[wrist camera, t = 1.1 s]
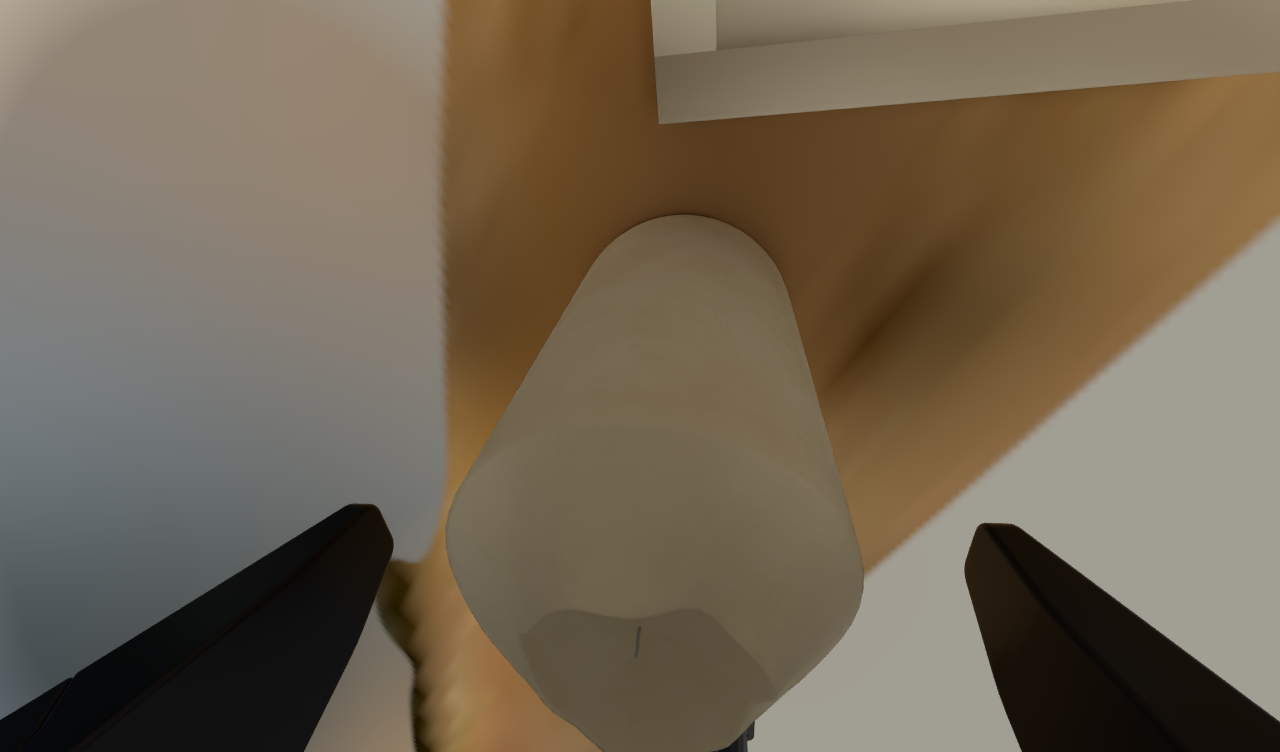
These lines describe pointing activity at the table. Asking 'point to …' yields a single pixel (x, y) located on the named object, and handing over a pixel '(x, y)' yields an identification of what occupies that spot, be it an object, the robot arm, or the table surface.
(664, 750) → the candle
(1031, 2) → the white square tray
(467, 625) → the table surface
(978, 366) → the table surface
